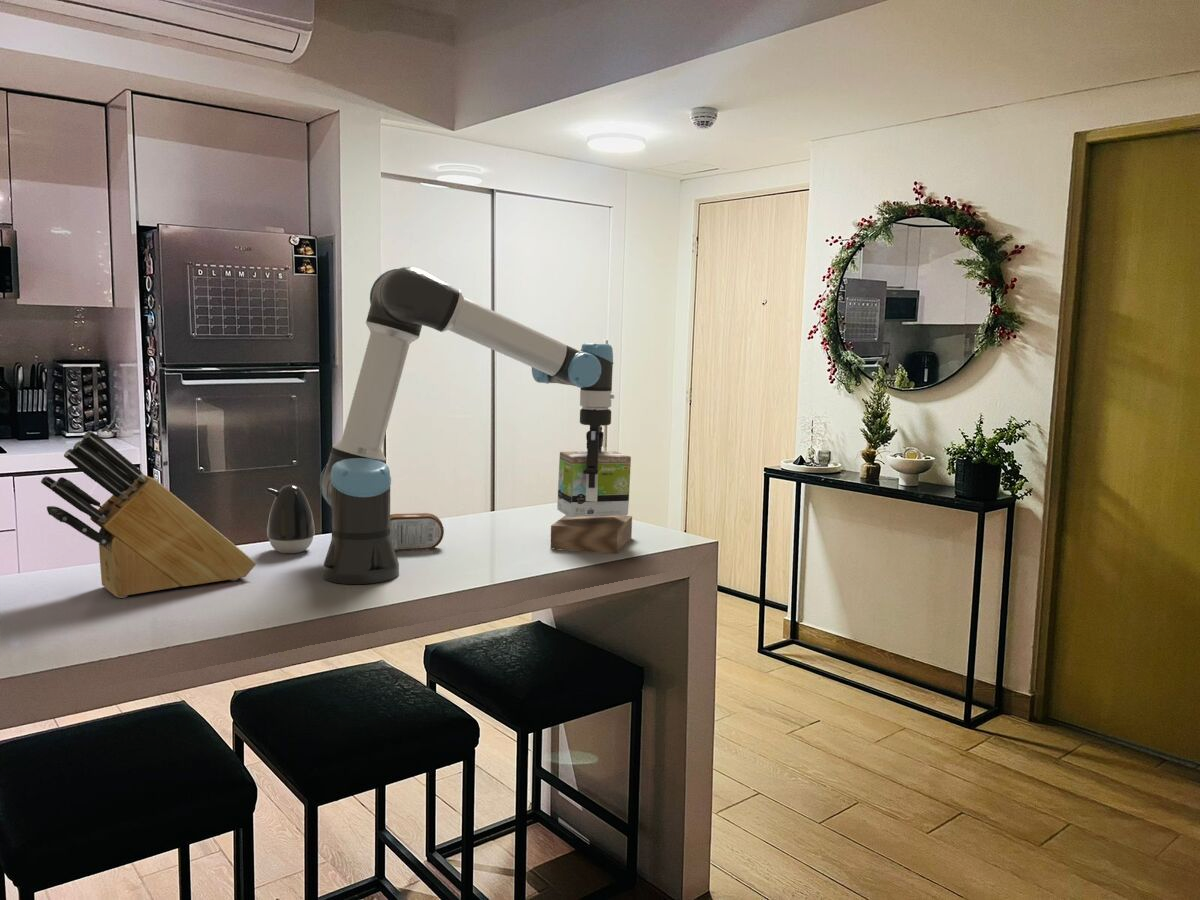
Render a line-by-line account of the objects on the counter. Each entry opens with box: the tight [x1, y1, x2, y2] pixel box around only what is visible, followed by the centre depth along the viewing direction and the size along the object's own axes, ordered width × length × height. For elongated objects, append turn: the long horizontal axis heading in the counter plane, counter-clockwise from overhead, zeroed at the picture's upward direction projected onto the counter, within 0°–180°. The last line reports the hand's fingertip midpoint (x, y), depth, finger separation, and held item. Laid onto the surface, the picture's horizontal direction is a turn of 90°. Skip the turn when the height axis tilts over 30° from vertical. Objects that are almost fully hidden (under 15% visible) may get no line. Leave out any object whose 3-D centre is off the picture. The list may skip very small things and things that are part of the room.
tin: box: [390, 512, 445, 552], centre depth 214 cm, size 15×3×8 cm, turn 108°
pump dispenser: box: [265, 484, 316, 554], centre depth 209 cm, size 10×10×15 cm
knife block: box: [40, 430, 257, 599], centre depth 177 cm, size 11×35×31 cm, turn 130°
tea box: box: [556, 450, 632, 517], centre depth 224 cm, size 15×10×15 cm
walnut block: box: [550, 514, 633, 555], centre depth 226 cm, size 16×18×6 cm
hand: (593, 496), depth 225 cm, fingers closed on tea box, 12 cm apart
